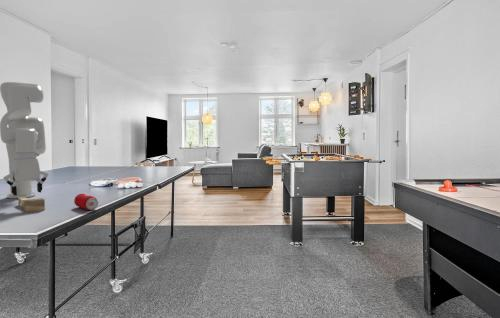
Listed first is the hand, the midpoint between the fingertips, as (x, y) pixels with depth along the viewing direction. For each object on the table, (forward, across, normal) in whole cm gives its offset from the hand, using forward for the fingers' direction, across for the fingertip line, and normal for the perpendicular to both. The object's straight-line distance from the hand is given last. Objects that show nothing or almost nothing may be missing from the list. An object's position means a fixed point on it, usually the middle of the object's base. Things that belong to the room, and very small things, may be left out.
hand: (27, 193), depth 152 cm
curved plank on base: (+6, 0, +2) cm, 7 cm away
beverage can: (+3, -17, +15) cm, 23 cm away
